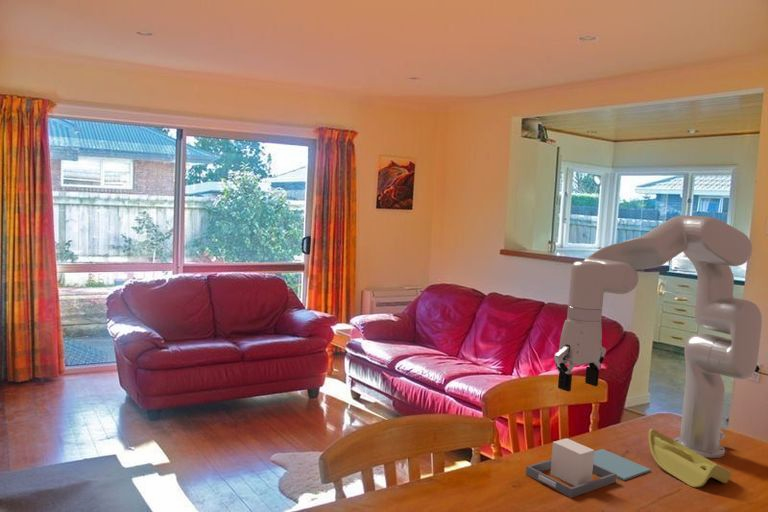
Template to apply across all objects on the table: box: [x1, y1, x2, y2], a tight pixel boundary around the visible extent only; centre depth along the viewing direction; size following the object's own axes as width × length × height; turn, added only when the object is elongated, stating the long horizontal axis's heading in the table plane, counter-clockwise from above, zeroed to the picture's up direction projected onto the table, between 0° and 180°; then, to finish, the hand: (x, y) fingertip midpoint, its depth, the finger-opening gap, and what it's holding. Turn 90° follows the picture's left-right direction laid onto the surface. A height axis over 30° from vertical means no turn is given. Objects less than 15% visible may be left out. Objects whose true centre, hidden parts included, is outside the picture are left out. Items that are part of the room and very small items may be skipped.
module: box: [549, 438, 595, 487], centre depth 147 cm, size 5×8×8 cm, turn 35°
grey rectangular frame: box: [525, 458, 617, 499], centre depth 147 cm, size 17×13×2 cm
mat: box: [593, 448, 652, 481], centre depth 157 cm, size 11×14×1 cm
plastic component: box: [647, 428, 733, 488], centre depth 156 cm, size 20×7×10 cm
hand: (578, 387), depth 146 cm, fingers open, 9 cm apart
